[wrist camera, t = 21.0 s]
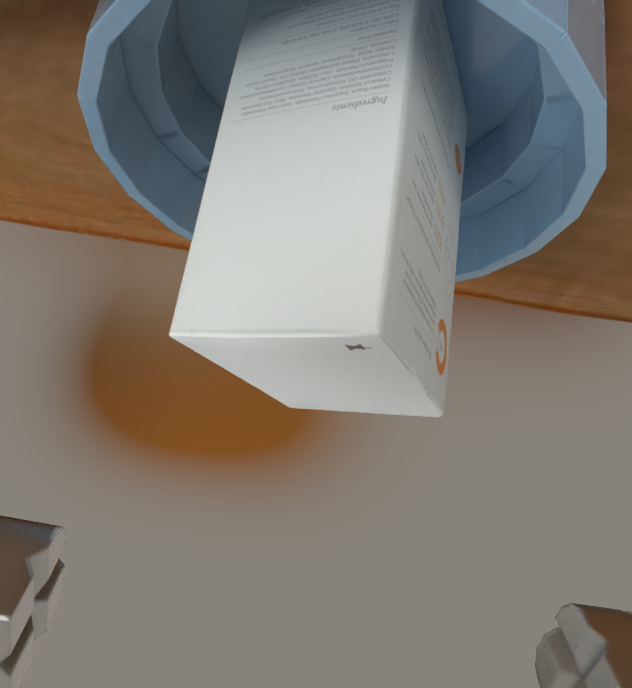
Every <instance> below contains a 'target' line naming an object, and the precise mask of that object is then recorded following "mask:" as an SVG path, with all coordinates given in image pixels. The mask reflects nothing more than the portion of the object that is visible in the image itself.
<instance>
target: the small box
mask: <svg viewBox="0 0 632 688" xmlns="http://www.w3.org/2000/svg"><path fill="white" fill-rule="evenodd" d="M467 126H468V118H467V113H466V108H465V103H464V99H463V94H462V89H461V84H460V79H459V75H458V70H457V65H456V61H455V56H454V52H453V48H452V43H451V39H450V34H449V30H448V25H447V21H446V16H445V12H444V7H443V3H442V0H250V3H249V7H248V12H247V16H246V20H245V24H244V28H243V31H242V36H241V41H240V45H239V49H238V53H237V57H236V61H235V65H234V69H233V73H232V77H231V81H230V85H229V89H228V93H227V97H226V101H225V105H224V110H223V114H222V118H221V122H220V126H219V130H218V134H217V139H216V143H215V147H214V151H213V155H212V159H211V163H210V167H209V171H208V175H207V179H206V184H205V188H204V192H203V196H202V200H201V204H200V208H199V213H198V217H197V221H196V225H195V229H194V234H193V238H192V242H191V246H190V250H189V254H188V258H187V262H186V267H185V271H184V275H183V279H182V283H181V287H180V291H179V295H178V300H177V304H176V308H175V312H174V315H173V319H172V324H171V328H170V331H169V336H170V337H171V338H173V339H175V340H177V341H179V342H180V343H182V344H184V345H186V346H187V347H189V348H191V349H192V350H194V351H196V352H197V353H199V354H201V355H203V356H204V357H206V358H208V359H209V360H211V361H213V362H214V363H216V364H218V365H220V366H221V367H223V368H224V369H226V370H228V371H229V372H231V373H233V374H235V375H236V376H238V377H240V378H241V379H243V380H245V381H246V382H248V383H250V384H252V385H253V386H255V387H257V388H258V389H260V390H262V391H263V392H265V393H267V394H268V395H270V396H272V397H273V398H275V399H277V400H278V401H280V402H282V403H283V404H285V405H287V406H288V407H291V408H302V409H318V410H334V411H347V412H363V413H377V414H378V413H379V414H395V415H411V416H428V417H441V416H442V415H443V414H444V407H445V396H446V385H447V373H448V362H449V346H450V335H451V322H452V310H453V298H454V286H455V274H456V262H457V251H458V235H459V221H460V208H461V196H462V184H463V172H464V160H465V149H466V138H467Z"/></svg>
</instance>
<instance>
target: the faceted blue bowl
mask: <svg viewBox="0 0 632 688" xmlns="http://www.w3.org/2000/svg"><path fill="white" fill-rule="evenodd" d="M249 3H250V0H100V1H99V4H98V6H97V9H96V12H95V14H94V17H93V20H92V22H91V25H90V28H89V30H88V33H87V36H86V42H85V48H84V55H83V61H82V67H81V73H80V79H79V85H78V91H77V95H78V100H79V103H80V106H81V109H82V112H83V115H84V119H85V122H86V125H87V128H88V131H89V134H90V138H91V141H92V144H93V147H94V149H95V151H96V153H97V154H98V155H99V157H100V158H101V159H102V161H103V162H104V163H105V165H106V166H107V167H108V169H109V170H110V171H111V173H112V174H113V175H114V177H115V178H116V179H117V181H118V182H119V183H120V185H121V186H122V187H123V189H124V190H125V191H126V193H127V194H129V196H130V197H132V198H133V199H134V200H135V201H136V202H138V203H139V204H140V205H141V206H143V207H144V208H145V209H146V210H147V211H149V212H150V213H151V214H152V215H154V216H155V217H156V218H157V219H158V220H160V221H161V222H162V223H163V224H165V225H166V226H167V227H168V228H170V229H171V230H173V231H174V232H176V233H178V234H180V235H181V236H183V237H185V238H187V239H189V240H190V241H192V238H193V234H194V229H195V225H196V221H197V217H198V213H199V208H200V204H201V200H202V196H203V192H204V188H205V184H206V179H207V175H208V171H209V167H210V163H211V159H212V155H213V151H214V147H215V143H216V139H217V134H218V130H219V126H220V122H221V118H222V114H223V110H224V105H225V101H226V97H227V93H228V89H229V85H230V81H231V77H232V73H233V69H234V65H235V61H236V57H237V53H238V49H239V45H240V41H241V36H242V31H243V28H244V24H245V20H246V16H247V12H248V7H249ZM442 3H443V7H444V12H445V16H446V21H447V25H448V30H449V34H450V39H451V43H452V48H453V52H454V56H455V61H456V65H457V70H458V75H459V79H460V84H461V89H462V94H463V99H464V103H465V108H466V113H467V118H468V126H467V138H466V149H465V160H464V172H463V184H462V196H461V208H460V221H459V235H458V251H457V262H456V274H455V282H460V281H464V280H469V279H473V278H477V277H482V276H486V275H488V274H490V273H492V272H495V271H497V270H499V269H501V268H503V267H506V266H508V265H510V264H512V263H515V262H517V261H519V260H521V259H523V258H526V257H528V256H530V255H532V254H535V253H536V252H538V251H539V250H540V249H541V248H543V247H544V246H545V245H546V244H547V243H549V242H550V241H551V240H552V239H553V238H555V237H556V236H557V235H558V234H560V233H561V232H562V231H563V230H564V229H566V228H567V227H568V226H569V225H570V224H572V223H573V222H574V221H575V220H577V219H578V217H580V215H581V213H582V211H583V209H584V208H585V206H586V204H587V202H588V200H589V199H590V197H591V195H592V193H593V191H594V190H595V188H596V186H597V184H598V182H599V180H600V179H601V177H602V175H603V173H604V171H605V170H606V166H607V78H606V43H605V9H604V0H442Z"/></svg>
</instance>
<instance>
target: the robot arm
mask: <svg viewBox="0 0 632 688" xmlns="http://www.w3.org/2000/svg"><path fill="white" fill-rule="evenodd" d="M65 531H66V529H65V528H64V527H60V526H55V525H50V524H44V523H39V522H33V521H28V520H22V519H17V518H11V517H5V516H0V688H20V687H21V685H22V683H23V681H24V679H25V677H26V674H27V672H28V670H29V668H30V666H31V663H32V661H33V645H34V644H33V643H34V639H36V638H37V637H38V636H40V635H41V634H43V633H44V632H45V631H47V629H48V626H49V624H50V622H51V619H52V617H53V615H54V613H55V610H56V606H57V603H58V600H59V597H60V594H61V590H62V584H63V580H64V567H65V565H64V564H63V563H62V562H61V561H60V559H59V557H60V555H61V553H62V551H63V548H64V546H65V544H66V532H65ZM555 618H556V621H557V625H558V627H557V628H555V629H553V630H551V631H550V632H548V633H546V634H545V635H544V636H543V637H542V639H541V641H540V643H539V645H538V647H537V651H536V662H535V666H536V673H537V679H538V682H539V684H540V687H541V688H632V612H629V611H622V610H618V609H611V608H603V607H596V606H588V605H581V604H574V603H569V604H567V605H565V606H563V607H561V609H560V610H559V612H558V613H557V615H556V617H555Z"/></svg>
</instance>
